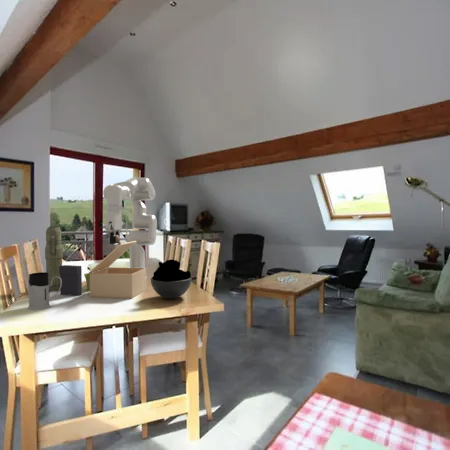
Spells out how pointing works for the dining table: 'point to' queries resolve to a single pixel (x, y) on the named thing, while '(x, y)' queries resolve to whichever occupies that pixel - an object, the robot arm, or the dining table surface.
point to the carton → (117, 282)
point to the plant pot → (87, 280)
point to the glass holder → (39, 291)
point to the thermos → (53, 256)
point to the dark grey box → (70, 280)
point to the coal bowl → (170, 279)
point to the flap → (113, 255)
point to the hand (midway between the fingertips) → (114, 243)
